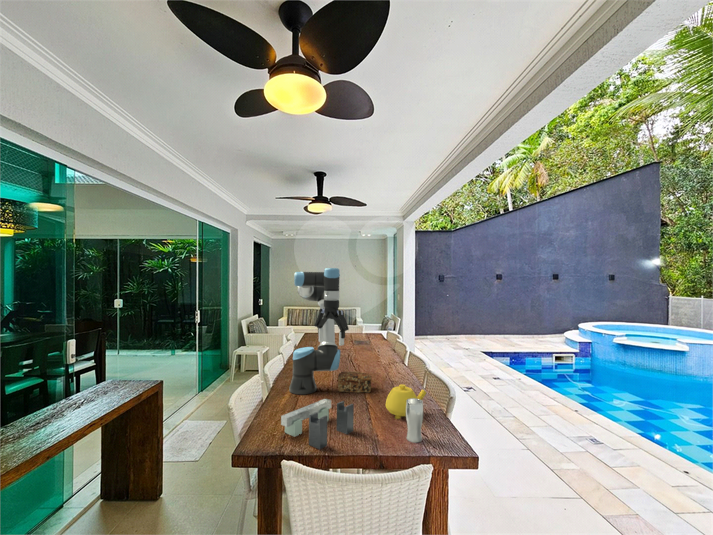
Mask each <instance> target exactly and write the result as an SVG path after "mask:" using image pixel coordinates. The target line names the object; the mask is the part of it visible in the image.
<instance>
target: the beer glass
mask: <svg viewBox="0 0 713 535" xmlns="http://www.w3.org/2000/svg"><path fill="white" fill-rule="evenodd" d="M405 419H406V426H407V432H406V440H407V441H408V442H411V443H413V444H414V443H416V444H417V443H421V442H422V441H423V438H422V436H423V435H422V426H423V421H424V420H423V419H424V401H423V399H422V400H420V399H415V398H411V399H407V400H406V416H405Z"/></svg>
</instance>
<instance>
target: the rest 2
mask: <svg viewBox="0 0 713 535" xmlns="http://www.w3.org/2000/svg"><path fill="white" fill-rule="evenodd" d="M329 411H330V409H329V408H328V407H327V408H325V409H323V410H321V413H318V419H319V418H321V417H324V416H327V422H329V421H330V419H329V416H330V414H329V413H330V412H329Z"/></svg>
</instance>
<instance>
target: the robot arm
mask: <svg viewBox="0 0 713 535" xmlns="http://www.w3.org/2000/svg"><path fill="white" fill-rule="evenodd" d="M340 277H341V274H340V269H339V268H337V267H326V268H324V271H295V272H294V281H293V282H294V286H295V287H297V294H298V295H299V297H300V298H301V299H303V300H306V301H309V302H317V305H318V306H319V313H318V315H317V317H316V320H315V323H314V327H316V328H317V335H318V343H319V344H318V346H317V349H315V348H314V347H313V346H306V347H299V348H296V349H295V350H294V351H293V352H292V353H293V354H292V378H291V381H290V385H289V387H288V388H289V390H288V391H289V392H290V394H294V395H309V394H313V393H315V392H316V391H317V388H318V387H317V384H316V380H315V377H314V372H332V371H338V369H339V366H340V363H341V361H340V360H341V349H338V347H339V346H344V345H345V339H346V331H349V330H350V328H349V325H348V323H347V320H346V316H345V311H344V310H343V309H342V310H341V309H340V310H339V308H340V300H339V299H340ZM335 324H336V325H337V328H338V329H339V330H340V331H338V333H339V334H338V337H339V338H338V345H337V344H336V334H335V333H336V332H335V331H336V330H335V329H336V328H335Z"/></svg>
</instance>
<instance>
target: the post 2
mask: <svg viewBox="0 0 713 535" xmlns="http://www.w3.org/2000/svg"><path fill="white" fill-rule="evenodd" d="M354 405H355V404H354V403H350V404H348V405H346V406H345V400H342V401H339V402H337V403H336V432H339V433H342V434H345V435H349V434H350V433H352V432H354V413H355V411H354V409H355V408H354Z"/></svg>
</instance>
